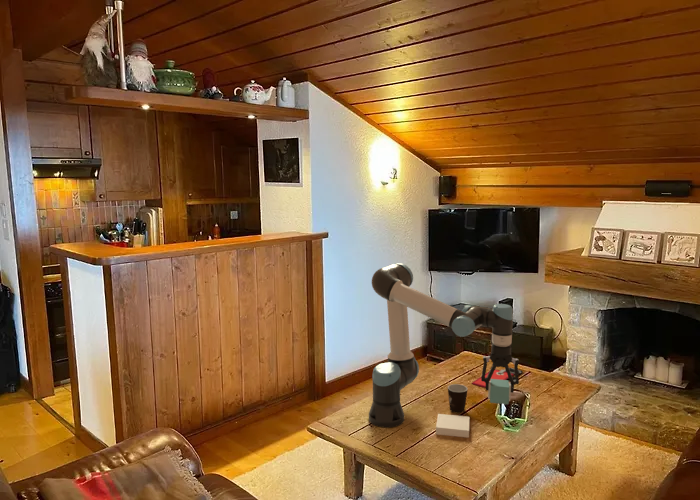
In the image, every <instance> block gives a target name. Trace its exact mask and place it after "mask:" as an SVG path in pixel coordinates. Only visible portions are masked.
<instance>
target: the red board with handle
mask: <svg viewBox="0 0 700 500" xmlns="http://www.w3.org/2000/svg"><path fill="white" fill-rule="evenodd" d="M509 369H510V372H511V375H512V378H513V380H515V370H514V367H509ZM523 372H524V370H521V369H518V376H519V375H520V374H522V373H523ZM488 373H489V371H488V372H486V374H485V378H487V375H488ZM491 379H499V380H508V381H510V380H509V377H508V375H507V372H506V369H505V368H504V369H501V370H500V369H497V368H496V369H495V370H494V373H493V375H492V377H491ZM471 385H474V386H477V387H480V388H484V389H485V387H486V383H485V382H484V381H481V376H480V377H479V378H477V379H475V380H474V381H472V382H471Z"/></svg>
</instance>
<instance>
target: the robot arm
mask: <svg viewBox="0 0 700 500" xmlns="http://www.w3.org/2000/svg"><path fill="white" fill-rule="evenodd" d="M371 277H372V278H371V287H372V289H373V290H374V292H375V294H377V295H378V296H380V297H381V298H383V299H385V300H386V302H387V304H386V305H387V316H388V317H387V318H388V332H389V346H390V347H389V348H390V352H389V353H388V354H387V361H386V362H384V363H383V362H381V363H378V364H377V365H376V366H374V368H373V371H372V375H371V376H372V380H371V381H372V403H371V406H370V408H369V412H368V420H369V422H370V423H371V425H374V426H376V427H380V428H394V427H398V426H401V425H402V424H403V423H404V422H405V412H404V409H403V406H402V404H401V390H403V389H404V388H406V387H407V386H408V385H409V384H411V383H412V382H413V381H415V379H416V378H417V377H418V375H419V372H420V366H419V363H418V361H417V360H416V357H415V355H414V352H412V351H411V345H410V343H411V342H410V330H409V316H408V315H409V314H408V313H409V312H408V308H409V309H411V310H413V311H415V312H417V313H419V314H422V315H423V316H426V317H428V318H430V319H432V320H434V321H437V322H438V323H441V324H443V325H444V326H447V327H448V328H451V329H452V332H453V333H454V334H455V335H456V336H457V337H463V338H464V337H467V336H469V335H471V334H473V333H474V332H475V331H476V330H477V329H479V328H480V327H484V328H491V329H492V331H491V349H490V350H491V353H490V354H489V355H488V356H486V355H483V356H482V360H483V365H482V369H481V370H482V371H481V375H480V377H481V381H484V382H485V383H486V387H485V388H484V389H485V391H487V399H488V400H490V388H491V381H490V379H491V377H492V375H493V373H494V370H495V369H496V370H497V368H504V370H505V369H506V372H507V375H508V377H509V380H508V381H509V402H511V393H512V394H513V393H514V391H515V385H519V384H520V379H519V375H518V370H519V369H518V366H519V363H520V361H519V358H518V357H517V358H514V357H512V341H513V340H512V338H513V324H514V323H513V321H514V315H513V314H514V309H513V307H512V306H511V305H510V304H506V303H496V304H494V305H493V307H492V308H491V307H483V306H478V305H470V304H468V305H464V307H463V308H462V310H459V309H458V308H455V307H453V306H452V305H449V304H447V303H445V302H442V301H440V300H439V299H436V298H435V297H432V296H430V295H428V294H425V293H423V292H421V291H420V290H416V289H414V288H412V287H411V285H412V284H413V281H414V274H413V271H412V270H411V268H409V266H407V265H406V264H404V263H401V262H399V263H398V262H397V263H392V264H389V265H388V266H384V267H382V268H379V269H377V270H376V271H375V272H374V273H373V275H372V276H371ZM490 361H491V362H492V364H491V366H490V369H489V370H488V372H489V373H488V372H487V367H488V363H489V362H490ZM511 362H512V364H513V369H514V370H515V374H514V377H515V380H513V378H512V377H513V376H512V375H511V372H510V369H509V368H510V366H509V364H510V363H511ZM486 373H488V375H487V378H485V374H486Z"/></svg>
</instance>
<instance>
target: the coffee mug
mask: <svg viewBox="0 0 700 500" xmlns="http://www.w3.org/2000/svg"><path fill="white" fill-rule="evenodd" d="M447 395H448V404H449V410H450V411H451V412H453V413H459V414H461V413H464V412H465V410H466V409H465V408H466V402H467V395H468V387H467V386H466V385H464V384H459V383H452V384H449V385H448V386H447Z"/></svg>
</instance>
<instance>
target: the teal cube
mask: <svg viewBox="0 0 700 500" xmlns="http://www.w3.org/2000/svg"><path fill="white" fill-rule="evenodd" d="M490 381H491V388H490V399H489V403H491V404H501V405H509V403H510V401H509V383H510V380H499V379H490Z"/></svg>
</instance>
